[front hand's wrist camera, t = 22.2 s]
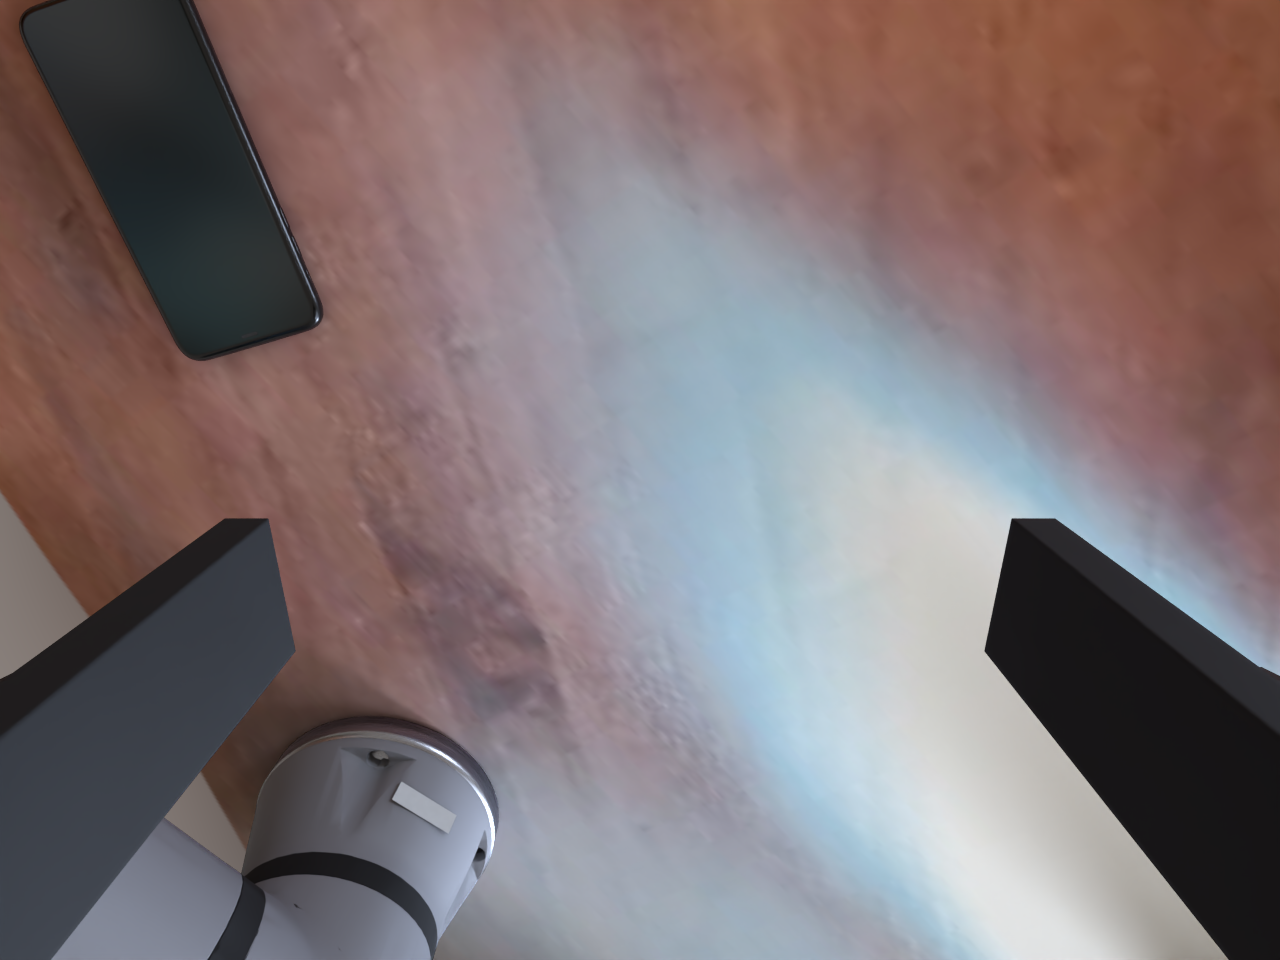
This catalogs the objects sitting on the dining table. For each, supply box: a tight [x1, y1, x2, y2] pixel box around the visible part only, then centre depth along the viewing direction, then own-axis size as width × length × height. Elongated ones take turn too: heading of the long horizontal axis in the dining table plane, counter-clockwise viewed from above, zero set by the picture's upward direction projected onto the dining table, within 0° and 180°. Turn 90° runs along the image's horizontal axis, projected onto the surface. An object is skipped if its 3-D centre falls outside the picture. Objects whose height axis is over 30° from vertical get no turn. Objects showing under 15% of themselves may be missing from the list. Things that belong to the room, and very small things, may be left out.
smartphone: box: [19, 0, 323, 361], centre depth 33 cm, size 8×1×16 cm
